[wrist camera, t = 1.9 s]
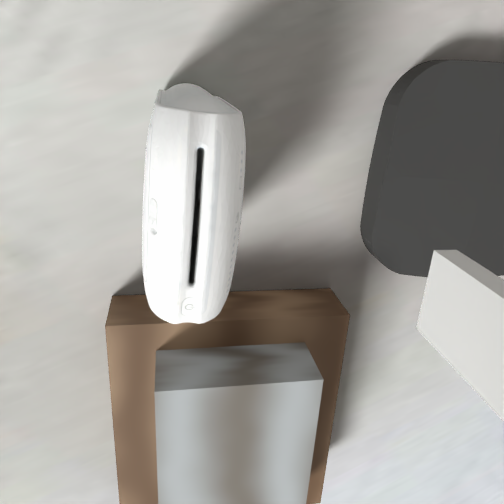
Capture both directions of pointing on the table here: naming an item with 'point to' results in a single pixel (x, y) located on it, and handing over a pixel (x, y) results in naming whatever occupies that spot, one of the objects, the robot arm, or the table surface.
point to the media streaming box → (438, 168)
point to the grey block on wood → (226, 398)
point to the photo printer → (191, 203)
